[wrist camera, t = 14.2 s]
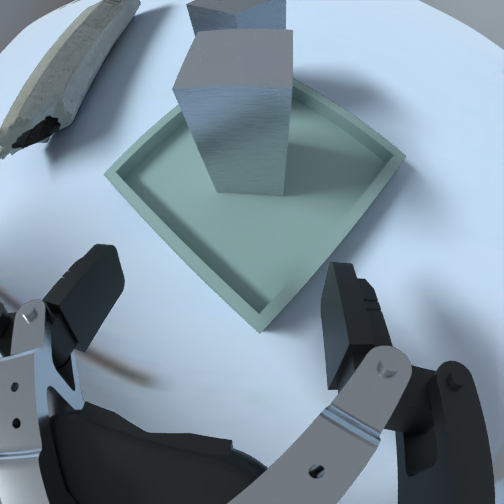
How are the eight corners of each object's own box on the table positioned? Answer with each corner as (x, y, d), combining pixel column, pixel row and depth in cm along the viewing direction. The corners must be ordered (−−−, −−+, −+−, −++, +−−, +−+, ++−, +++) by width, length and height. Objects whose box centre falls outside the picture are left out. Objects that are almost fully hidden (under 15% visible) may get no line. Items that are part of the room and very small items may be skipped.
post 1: (249, 118, 20) (235, 14, 11) (211, 96, 21) (186, 4, 12) (284, 91, 21) (285, -6, 11) (246, 72, 22) (235, -16, 12)
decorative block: (146, 13, 28) (133, -20, 20) (70, 168, 21) (24, 128, 14) (106, 26, 28) (91, -4, 21) (26, 178, 22) (-17, 149, 14)
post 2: (282, 196, 18) (292, 87, 8) (216, 192, 19) (172, 89, 9) (285, 142, 19) (292, 30, 9) (225, 139, 19) (198, 31, 10)
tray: (260, 331, 17) (259, 333, 15) (115, 184, 20) (103, 174, 18) (396, 168, 19) (406, 156, 17) (248, 71, 22) (247, 56, 20)
